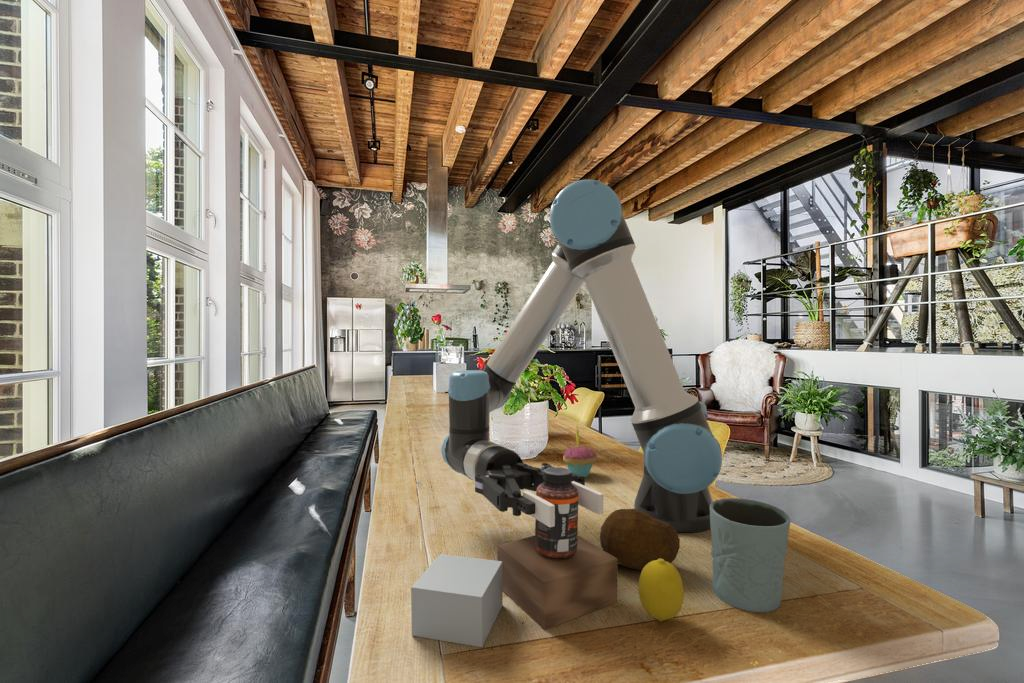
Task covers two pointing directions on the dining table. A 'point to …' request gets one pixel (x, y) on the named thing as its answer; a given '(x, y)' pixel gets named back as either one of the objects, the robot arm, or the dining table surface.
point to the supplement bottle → (558, 514)
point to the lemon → (661, 589)
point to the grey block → (457, 599)
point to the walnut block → (558, 580)
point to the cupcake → (580, 458)
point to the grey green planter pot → (748, 553)
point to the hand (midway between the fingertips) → (577, 510)
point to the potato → (638, 538)
